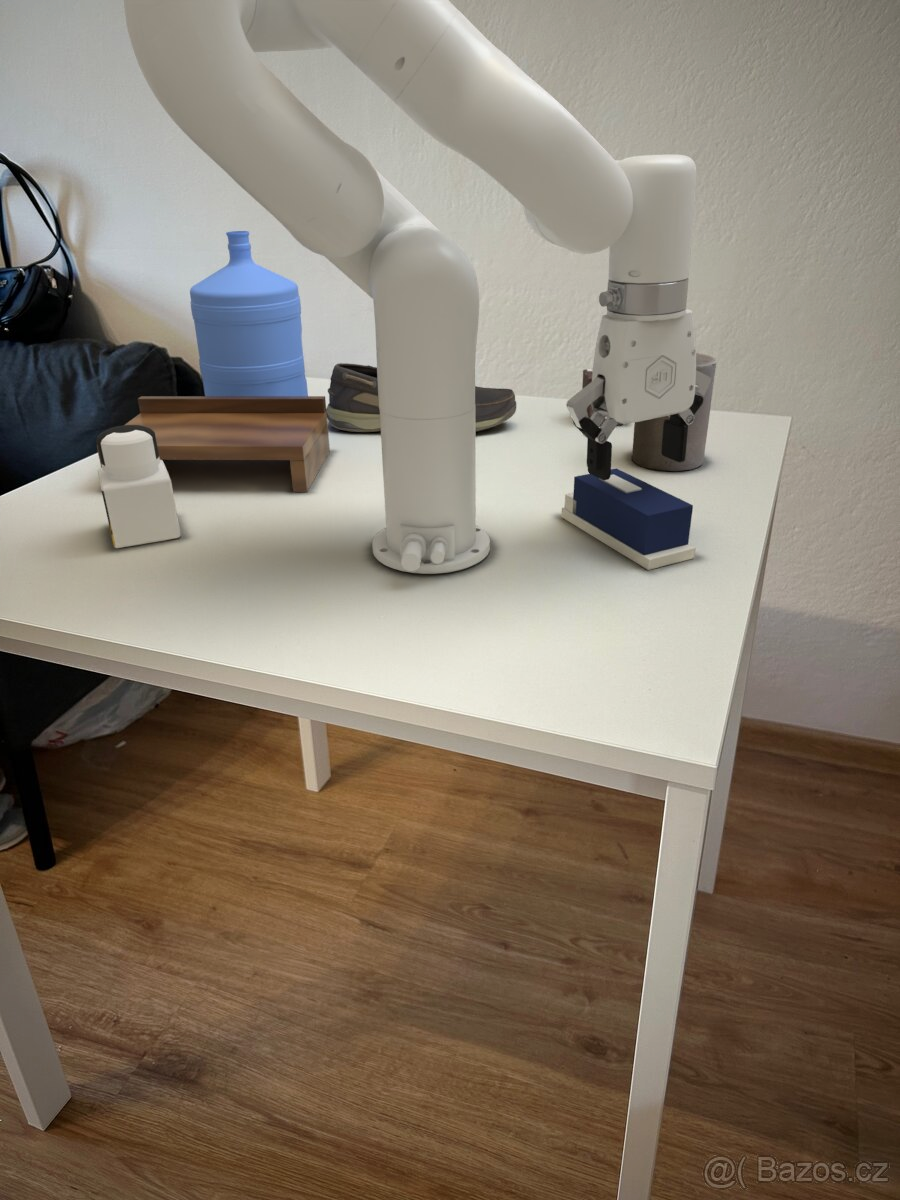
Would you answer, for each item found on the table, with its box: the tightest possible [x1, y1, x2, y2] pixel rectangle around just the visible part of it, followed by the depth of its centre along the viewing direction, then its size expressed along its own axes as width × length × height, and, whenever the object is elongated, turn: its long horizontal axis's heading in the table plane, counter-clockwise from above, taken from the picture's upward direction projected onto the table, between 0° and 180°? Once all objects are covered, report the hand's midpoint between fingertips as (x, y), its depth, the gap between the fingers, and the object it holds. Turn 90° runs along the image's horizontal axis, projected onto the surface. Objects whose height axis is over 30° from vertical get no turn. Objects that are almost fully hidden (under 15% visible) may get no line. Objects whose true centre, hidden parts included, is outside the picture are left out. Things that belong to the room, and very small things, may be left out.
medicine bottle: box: [95, 424, 181, 549], centre depth 95 cm, size 7×7×12 cm
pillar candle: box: [630, 352, 718, 472], centre depth 114 cm, size 10×10×15 cm
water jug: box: [189, 230, 309, 396], centre depth 127 cm, size 16×16×28 cm
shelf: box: [96, 395, 331, 493], centre depth 114 cm, size 16×26×8 cm, turn 87°
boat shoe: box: [326, 362, 517, 433], centre depth 130 cm, size 11×29×11 cm, turn 89°
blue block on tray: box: [560, 467, 696, 571], centre depth 93 cm, size 16×6×6 cm, turn 27°
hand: (636, 467), depth 91 cm, fingers open, 9 cm apart
